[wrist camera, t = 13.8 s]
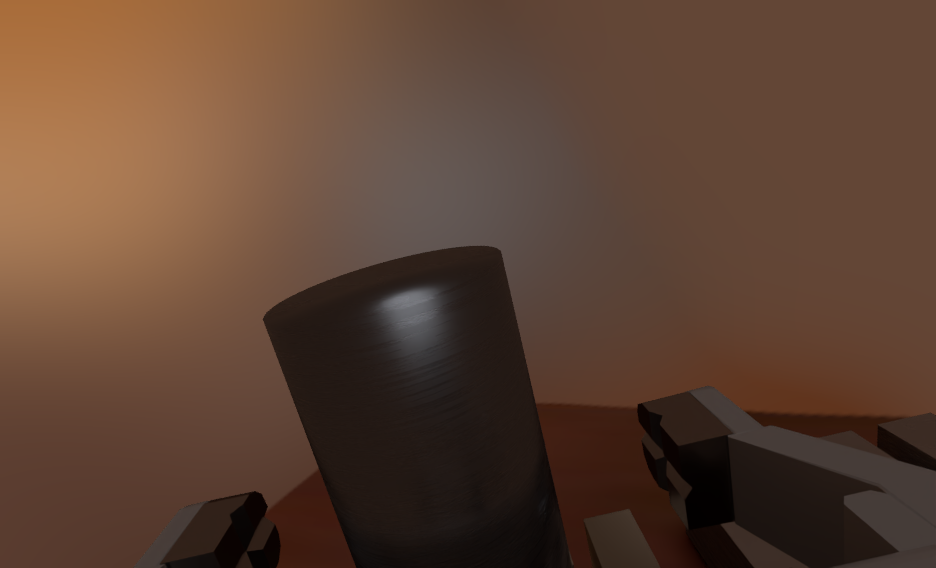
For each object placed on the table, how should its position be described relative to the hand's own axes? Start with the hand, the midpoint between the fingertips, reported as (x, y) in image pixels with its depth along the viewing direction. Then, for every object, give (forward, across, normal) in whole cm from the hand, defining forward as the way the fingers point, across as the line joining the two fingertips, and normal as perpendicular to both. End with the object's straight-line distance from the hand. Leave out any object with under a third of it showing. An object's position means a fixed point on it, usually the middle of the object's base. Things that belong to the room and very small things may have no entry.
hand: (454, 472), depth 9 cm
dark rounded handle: (-1, 0, +10) cm, 10 cm away
